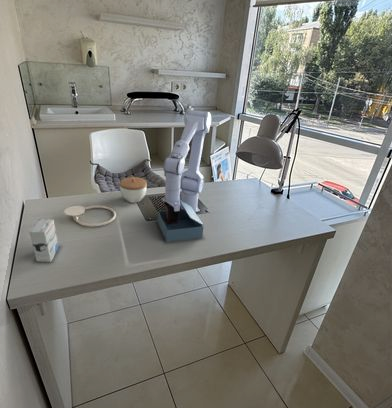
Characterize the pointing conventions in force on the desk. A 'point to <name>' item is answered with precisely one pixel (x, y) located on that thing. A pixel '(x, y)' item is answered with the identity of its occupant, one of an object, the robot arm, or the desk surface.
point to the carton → (180, 227)
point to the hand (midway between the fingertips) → (171, 218)
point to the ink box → (44, 240)
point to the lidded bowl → (133, 189)
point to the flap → (191, 212)
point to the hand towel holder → (78, 210)
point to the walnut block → (169, 216)
